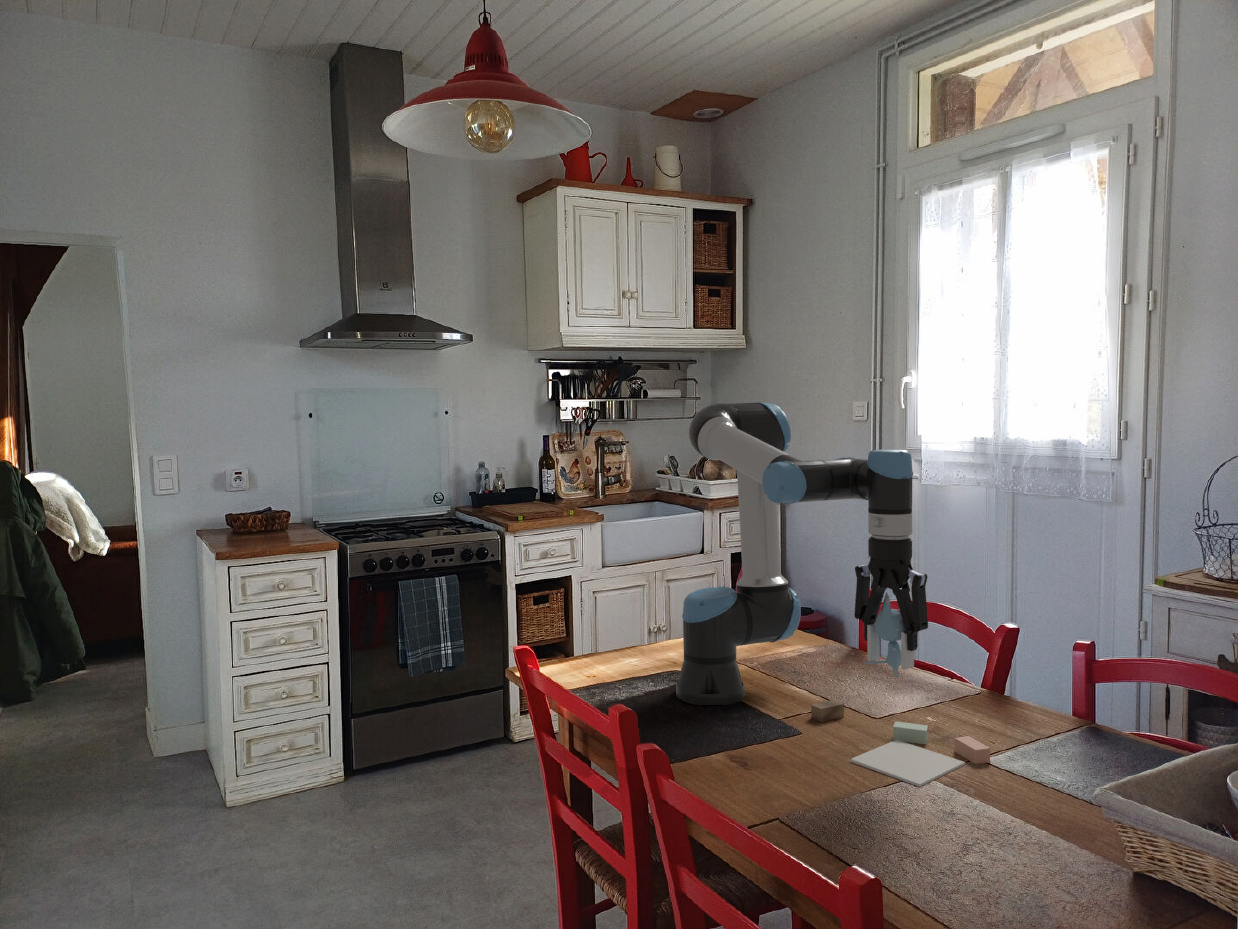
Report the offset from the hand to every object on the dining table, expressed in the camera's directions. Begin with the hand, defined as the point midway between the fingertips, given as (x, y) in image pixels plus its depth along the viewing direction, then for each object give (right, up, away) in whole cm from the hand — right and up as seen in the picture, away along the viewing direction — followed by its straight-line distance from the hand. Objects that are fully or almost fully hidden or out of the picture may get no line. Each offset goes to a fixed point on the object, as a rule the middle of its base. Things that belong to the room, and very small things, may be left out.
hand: (890, 663), depth 162 cm
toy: (0, -3, 0) cm, 3 cm away
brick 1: (-6, -16, +22) cm, 28 cm away
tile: (+3, -18, -1) cm, 18 cm away
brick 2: (+7, -17, +9) cm, 21 cm away
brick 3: (+15, -17, +1) cm, 23 cm away
